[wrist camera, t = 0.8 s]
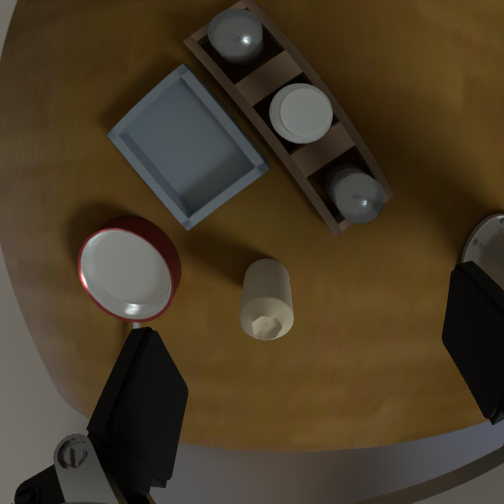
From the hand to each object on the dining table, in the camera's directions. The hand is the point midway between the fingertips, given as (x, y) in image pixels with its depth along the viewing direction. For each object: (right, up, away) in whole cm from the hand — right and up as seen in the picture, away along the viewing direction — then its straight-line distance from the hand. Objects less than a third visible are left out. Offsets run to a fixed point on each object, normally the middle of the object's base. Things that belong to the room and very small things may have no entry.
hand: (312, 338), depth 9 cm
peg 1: (-3, +24, +18) cm, 30 cm away
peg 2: (+8, +10, +24) cm, 28 cm away
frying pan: (-17, -7, +34) cm, 39 cm away
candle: (0, -1, +30) cm, 30 cm away
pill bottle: (+3, +17, +22) cm, 28 cm away
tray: (-9, +14, +23) cm, 28 cm away
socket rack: (+3, +17, +21) cm, 27 cm away
